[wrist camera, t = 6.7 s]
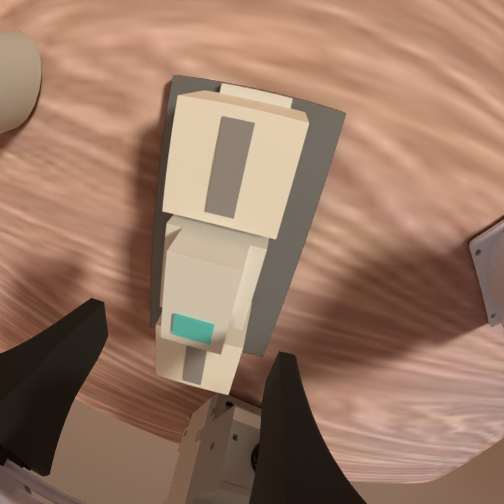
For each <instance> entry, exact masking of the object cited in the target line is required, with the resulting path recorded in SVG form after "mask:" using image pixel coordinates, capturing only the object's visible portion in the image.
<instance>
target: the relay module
mask: <svg viewBox="0 0 504 504" xmlns="http://www.w3.org/2000/svg"><path fill="white" fill-rule="evenodd" d="M268 241H269V238H268V237H264V236H260V235H256V234H252V233H248V232H244V231H241V230H237V229H233V228H229V227H225V226H221V225H217V224H212V223H208V222H204V221H200V220H196V219H192V218H188V217H184V216H180V215H176V214H174V215H173V216H172V217H171V218H170V220H169V221H168V222H167V225H166V234H165V244H164V255H163V267H162V279H161V293H160V307H162V321H161V338H164V339H168V340H171V341H174V342H178V343H181V344H184V345H188V346H191V347H195V348H198V349H202V350H205V351H209V352H213V353H216V354H220V355H221V353H222V349H223V345H224V342H225V338H226V334H227V330H228V326H229V327H233V328H237V329H241V330H243V327H244V324H245V320H246V317H247V314H248V311H249V307H250V304H251V301H252V298H253V294H254V291H255V288H256V284H257V281H258V278H259V275H260V271H261V268H262V265H263V261H264V258H265V255H266V251H267V247H268Z"/></svg>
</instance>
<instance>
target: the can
mask: <svg viewBox="0 0 504 504" xmlns="http://www.w3.org/2000/svg"><path fill="white" fill-rule="evenodd" d="M41 76H42V70H41V61H40V55H39V52H38V49H37V46H36V44H35V42H34V41H33V40H32V39H31V37H30V36H29V35H27V34H25V33H22V32H20V31H13V32H0V134H1V133H4V132H6V131H9V130H12V129H14V128H17V127H19V126H20V125H21V124H22V123H23V122H24V121H25V120H26V119H27V118H28V116H29V114H30V113H31V111H32V109H33V108H34V105H35V102H36V99H37V96H38V93H39V89H40V84H41Z"/></svg>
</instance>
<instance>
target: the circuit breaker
mask: <svg viewBox="0 0 504 504" xmlns="http://www.w3.org/2000/svg"><path fill="white" fill-rule="evenodd" d="M225 404H229V405H225ZM261 409H262V408H259V407H257V406H254V405H252V404H249V403H247V402H244V401H242V400H240V399H237V398H235V397H233V396H230V395H226V394H222V393H218V392H217V393H216V394H214V395H213V396H212V397H211V398H210V399H209V400H208V401H206V402H205V403H204V404H203V405H202V406H201V407H200V408H199V409H197V410H196V411H195V412H194V413H193V414H192V416H191V417H188V418H187V421H189V422H190V423H189V426H187V427H186V428H185V429H184V432H183V435H182V439H181V442H180V445H179V449H178V452H180V454H179V457H178V461H177V464H176V468H175V472H174V475H173V479H172V482H171V486H170V489H169V493H168V496H167V500H164V502H163V504H249V500H250V496H251V491H252V486H253V482H254V477H255V471H256V466H257V461H258V453H259V439H260V424H261ZM186 433H187V434H186Z"/></svg>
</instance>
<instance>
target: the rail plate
mask: <svg viewBox="0 0 504 504" xmlns="http://www.w3.org/2000/svg"><path fill="white" fill-rule="evenodd" d="M345 116H346V113H344V112H342V111H339V110H336V109H333V108H330V107H326V106H323V105H320V104H316V103H313V102H309V101H305V100H302V99H298V98H294V97H290V96H286V95H282V94H278V93H274V92H270V91H265V90H261V89H256V88H251V87H247V86H242V85H237V84H231V83H226V82H220V81H214V80H208V79H202V78H195V77H188V76H180V75H176V76H173V78H172V84H171V89H170V95H169V101H168V107H167V114H166V120H165V127H164V134H163V142H162V149H161V158H160V166H159V175H158V185H157V195H156V206H155V218H154V232H153V248H152V269H151V301H150V327H152V328H155V329H156V375H158V376H161V377H164V378H167V379H170V380H174V381H177V382H181V383H184V384H188V385H191V386H195V387H198V388H202V389H206V390H210V391H214V392H218V393H222V394H226V395H229V391H230V388H231V385H232V382H233V379H234V376H235V373H236V369H237V366H238V363H239V360H240V357H241V353H242V352H243V353H247V354H252V355H256V356H260V357H263V355H264V353H265V350H266V348H267V345H268V343H269V340H270V337H271V335H272V332H273V329H274V327H275V324H276V322H277V319H278V316H279V314H280V311H281V308H282V305H283V303H284V300H285V297H286V295H287V292H288V289H289V286H290V284H291V281H292V278H293V275H294V272H295V270H296V267H297V264H298V261H299V258H300V255H301V253H302V250H303V247H304V244H305V241H306V238H307V235H308V232H309V229H310V226H311V223H312V220H313V217H314V214H315V211H316V208H317V205H318V202H319V199H320V196H321V193H322V190H323V187H324V184H325V181H326V178H327V175H328V171H329V168H330V165H331V162H332V159H333V155H334V152H335V149H336V146H337V142H338V139H339V136H340V133H341V129H342V126H343V123H344V119H345ZM174 214H176V215H180V216H184V217H188V218H192V219H196V220H200V221H204V222H208V223H212V224H217V225H221V226H225V227H229V228H233V229H237V230H241V231H244V232H248V233H252V234H256V235H260V236H264V237H268V238H269V241H268V247H267V251H266V255H265V258H264V261H263V265H262V268H261V271H260V275H259V278H258V281H257V284H256V288H255V291H254V294H253V298H252V301H251V304H250V307H249V311H248V314H247V317H246V320H245V324H244V327H243V330H241V329H237V328H233V327H229V326H228V330H227V334H226V338H225V342H224V345H223V349H222V353H221V355H220V354H216V353H213V352H209V351H205V350H202V349H198V348H195V347H191V346H188V345H184V344H181V343H178V342H174V341H171V340H168V339H164V338H161V321H162V307H160V293H161V279H162V267H163V255H164V244H165V234H166V225H167V222H168V221H169V220H170V218H171V217H172V216H173V215H174Z"/></svg>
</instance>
